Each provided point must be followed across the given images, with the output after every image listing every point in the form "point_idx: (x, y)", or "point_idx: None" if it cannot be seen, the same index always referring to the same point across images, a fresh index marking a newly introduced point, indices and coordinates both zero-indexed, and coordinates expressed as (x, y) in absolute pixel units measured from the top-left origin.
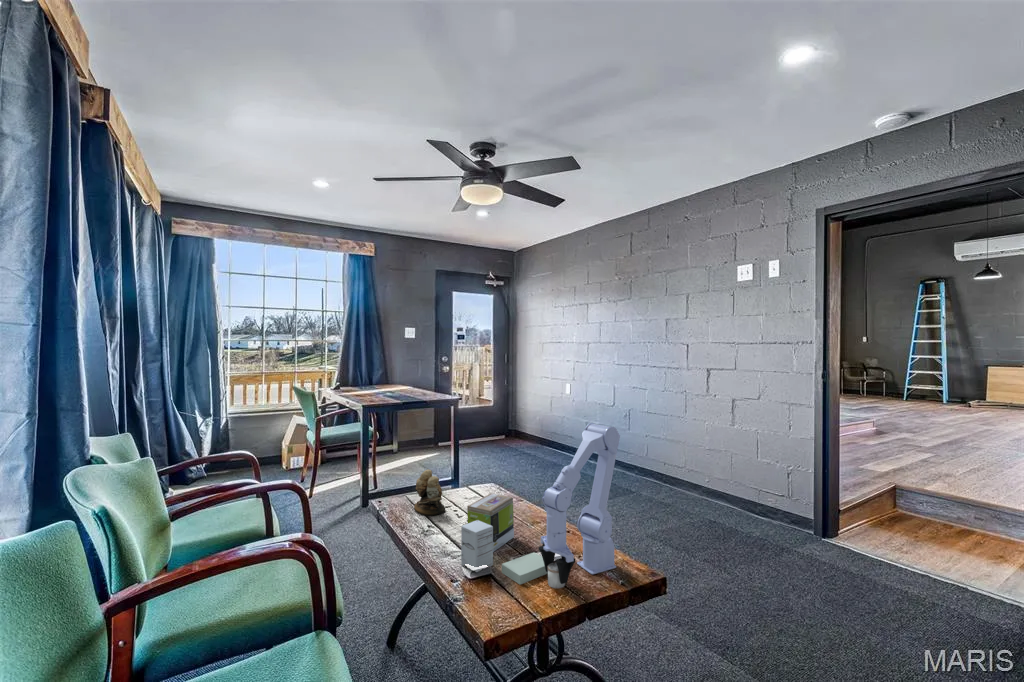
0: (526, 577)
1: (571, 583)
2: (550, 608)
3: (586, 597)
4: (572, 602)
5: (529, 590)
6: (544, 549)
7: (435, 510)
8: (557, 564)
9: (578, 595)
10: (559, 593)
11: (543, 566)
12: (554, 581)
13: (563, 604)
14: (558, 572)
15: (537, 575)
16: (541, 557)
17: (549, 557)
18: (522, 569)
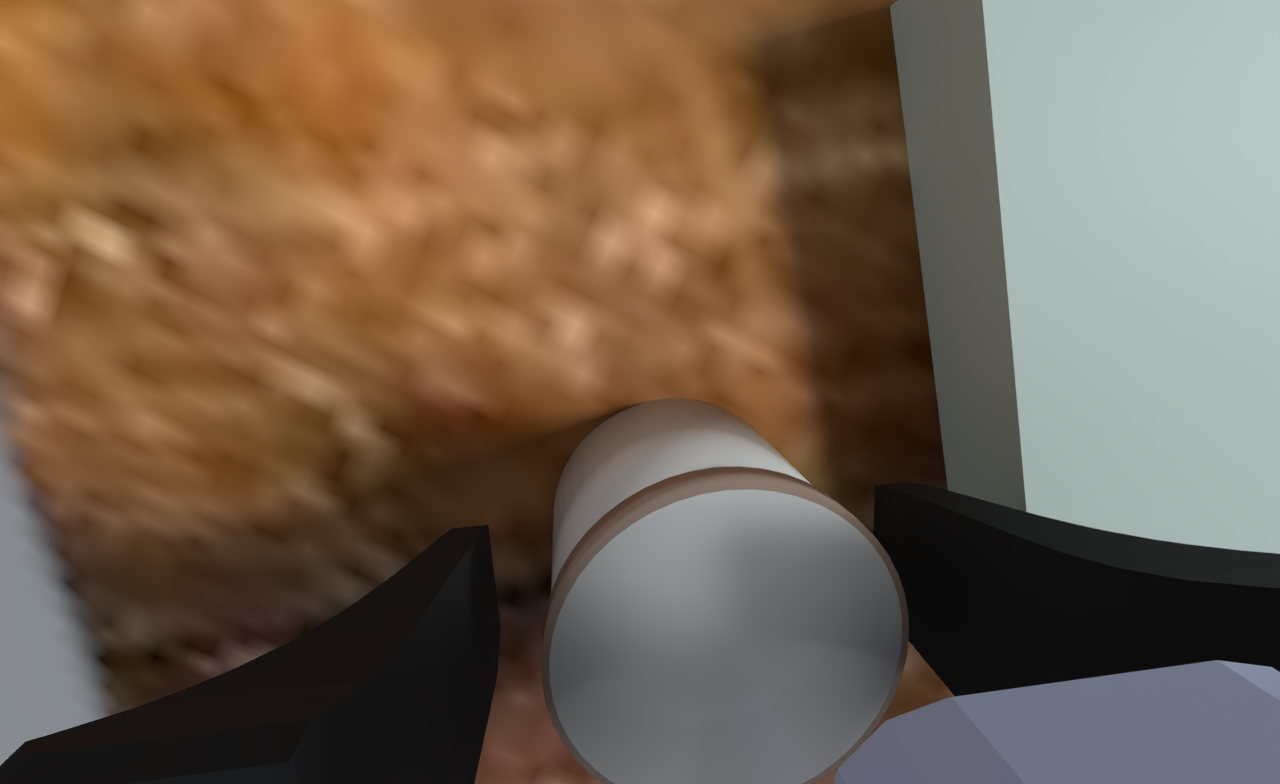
0: (945, 131)
1: None
2: (70, 113)
3: None
4: (143, 491)
5: (677, 64)
6: (1133, 694)
7: None
8: (302, 694)
9: (291, 638)
10: (428, 436)
11: (1025, 500)
12: (589, 470)
13: (127, 352)
14: (552, 603)
15: (948, 356)
16: None
17: (1038, 675)
18: (1137, 114)
